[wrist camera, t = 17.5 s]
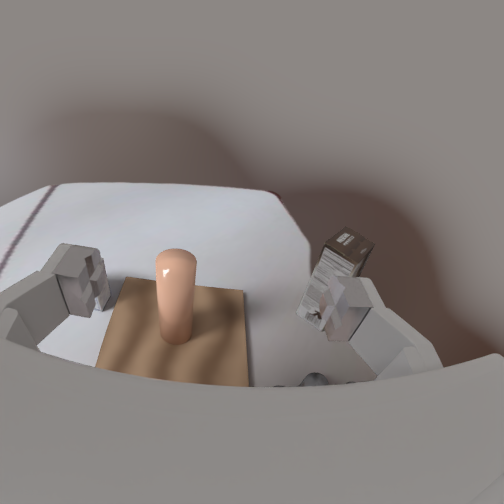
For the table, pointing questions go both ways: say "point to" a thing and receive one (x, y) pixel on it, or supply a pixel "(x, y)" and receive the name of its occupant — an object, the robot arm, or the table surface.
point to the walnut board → (184, 355)
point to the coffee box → (333, 270)
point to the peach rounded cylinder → (175, 294)
